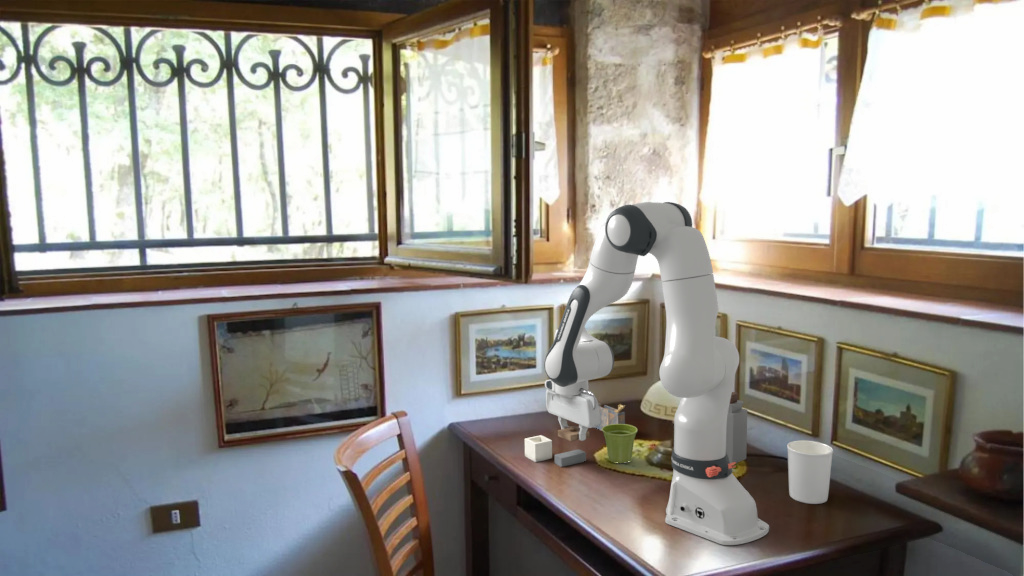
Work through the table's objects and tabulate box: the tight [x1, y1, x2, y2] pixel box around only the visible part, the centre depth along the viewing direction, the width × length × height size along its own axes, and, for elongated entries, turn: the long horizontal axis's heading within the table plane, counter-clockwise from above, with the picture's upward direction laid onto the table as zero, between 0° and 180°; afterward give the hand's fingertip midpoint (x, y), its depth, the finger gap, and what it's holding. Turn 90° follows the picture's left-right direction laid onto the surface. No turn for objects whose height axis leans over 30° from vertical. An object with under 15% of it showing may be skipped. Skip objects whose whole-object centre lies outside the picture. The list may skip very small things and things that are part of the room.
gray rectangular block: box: [554, 448, 587, 468], centre depth 194 cm, size 3×8×2 cm, turn 121°
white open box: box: [524, 434, 553, 463], centre depth 198 cm, size 5×5×5 cm
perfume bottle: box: [726, 391, 748, 464], centre depth 194 cm, size 7×7×18 cm
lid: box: [557, 425, 590, 442], centre depth 193 cm, size 6×6×3 cm
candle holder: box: [786, 439, 834, 505], centre depth 168 cm, size 10×10×12 cm
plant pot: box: [602, 423, 638, 464], centre depth 194 cm, size 9×9×9 cm
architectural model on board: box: [593, 403, 626, 432], centre depth 219 cm, size 11×3×10 cm, turn 32°
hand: (573, 436), depth 193 cm, fingers closed on lid, 6 cm apart
